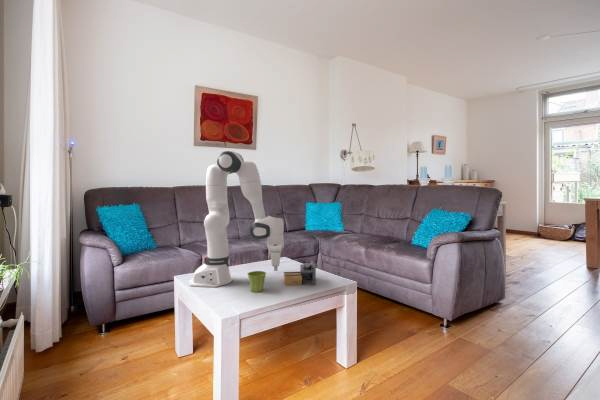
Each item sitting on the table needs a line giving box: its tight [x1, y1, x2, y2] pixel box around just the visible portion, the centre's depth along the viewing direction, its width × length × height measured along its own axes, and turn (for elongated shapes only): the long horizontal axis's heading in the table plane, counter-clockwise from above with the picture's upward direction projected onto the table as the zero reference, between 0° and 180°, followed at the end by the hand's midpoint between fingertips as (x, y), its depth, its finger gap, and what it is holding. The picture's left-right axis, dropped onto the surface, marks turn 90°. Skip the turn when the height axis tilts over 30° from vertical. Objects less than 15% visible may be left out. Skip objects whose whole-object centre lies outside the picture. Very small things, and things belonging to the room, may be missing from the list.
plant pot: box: [247, 270, 267, 293], centre depth 163 cm, size 9×9×9 cm
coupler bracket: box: [299, 260, 317, 286], centre depth 176 cm, size 7×12×10 cm, turn 4°
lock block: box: [283, 271, 303, 286], centre depth 175 cm, size 9×8×5 cm
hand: (275, 270), depth 174 cm, fingers closed
